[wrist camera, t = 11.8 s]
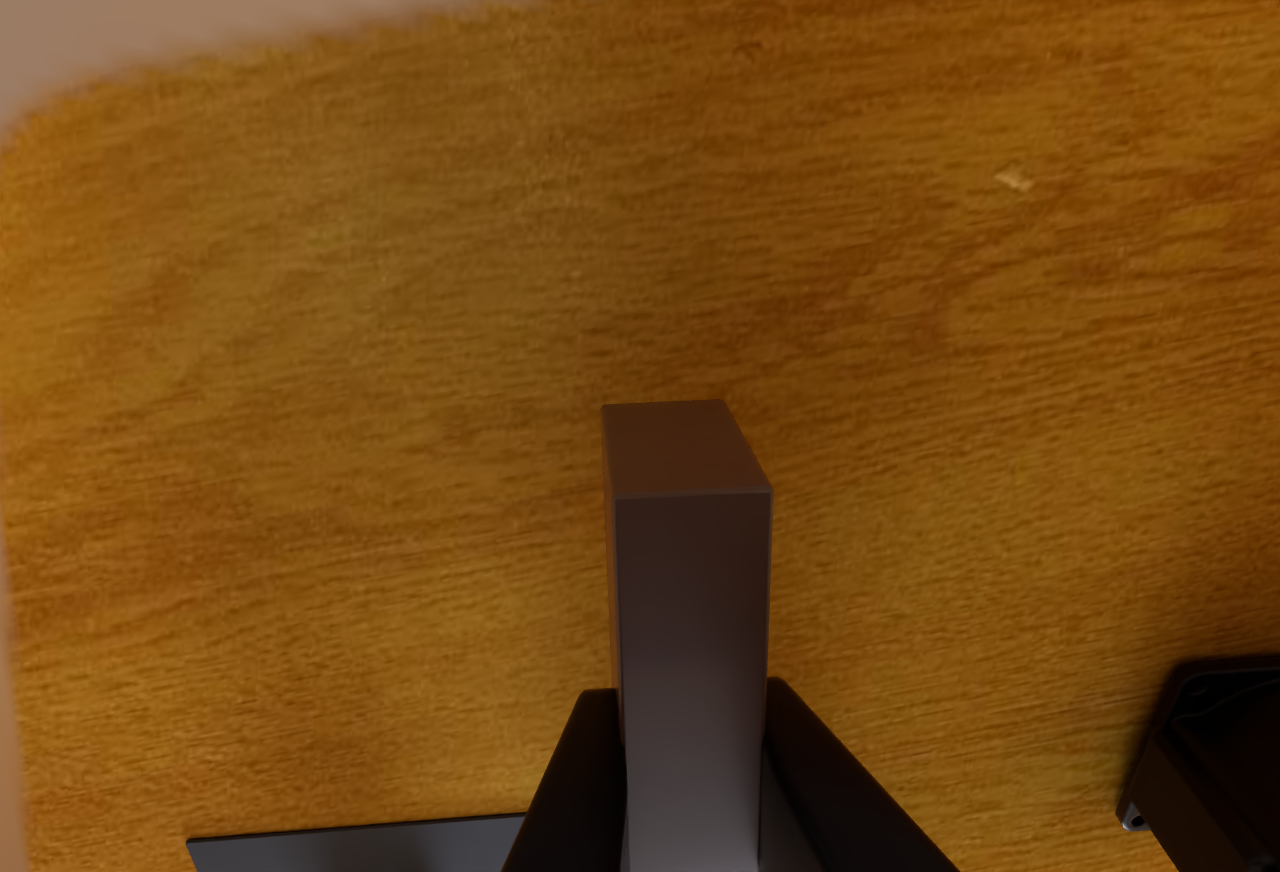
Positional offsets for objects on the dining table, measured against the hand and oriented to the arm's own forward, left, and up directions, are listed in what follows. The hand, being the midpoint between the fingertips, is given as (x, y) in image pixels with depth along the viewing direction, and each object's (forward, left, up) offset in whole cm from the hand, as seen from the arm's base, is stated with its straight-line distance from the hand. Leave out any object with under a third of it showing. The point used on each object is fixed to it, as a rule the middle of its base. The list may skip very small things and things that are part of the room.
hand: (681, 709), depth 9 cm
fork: (0, +4, -1) cm, 4 cm away
